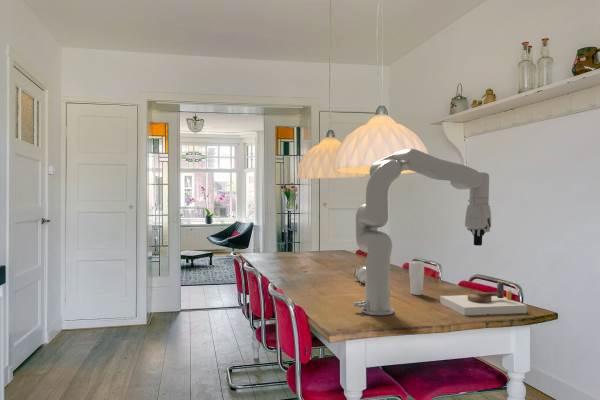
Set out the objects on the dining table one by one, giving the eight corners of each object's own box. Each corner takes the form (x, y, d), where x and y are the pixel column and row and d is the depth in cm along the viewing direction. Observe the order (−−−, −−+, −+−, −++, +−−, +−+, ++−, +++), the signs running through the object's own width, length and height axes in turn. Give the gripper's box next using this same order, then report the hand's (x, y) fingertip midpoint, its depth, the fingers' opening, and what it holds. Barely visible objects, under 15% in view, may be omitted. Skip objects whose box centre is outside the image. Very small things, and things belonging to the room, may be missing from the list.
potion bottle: (369, 288, 226) (357, 286, 240) (382, 276, 229) (370, 275, 243) (358, 274, 225) (347, 273, 240) (372, 262, 228) (360, 261, 243)
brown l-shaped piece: (474, 302, 176) (474, 285, 176) (463, 297, 185) (463, 281, 185) (509, 301, 178) (509, 284, 178) (497, 296, 187) (497, 280, 187)
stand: (464, 315, 170) (464, 298, 170) (440, 303, 190) (440, 287, 190) (526, 312, 174) (526, 296, 174) (496, 301, 193) (497, 286, 193)
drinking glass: (412, 292, 212) (412, 260, 212) (426, 294, 207) (426, 261, 207) (406, 294, 206) (406, 262, 206) (420, 296, 202) (420, 263, 202)
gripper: (458, 201, 193) (457, 243, 193) (487, 201, 180) (486, 247, 180) (470, 201, 197) (469, 243, 197) (500, 202, 183) (499, 246, 183)
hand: (477, 245), depth 188 cm, fingers closed
